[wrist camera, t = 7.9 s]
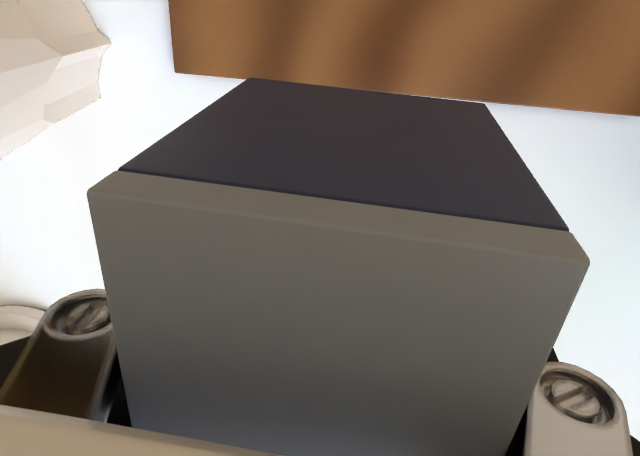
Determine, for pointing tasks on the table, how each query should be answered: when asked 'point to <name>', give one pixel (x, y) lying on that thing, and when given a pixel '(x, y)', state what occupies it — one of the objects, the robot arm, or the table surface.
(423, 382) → the block
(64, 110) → the cup
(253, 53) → the mat
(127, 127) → the table surface
